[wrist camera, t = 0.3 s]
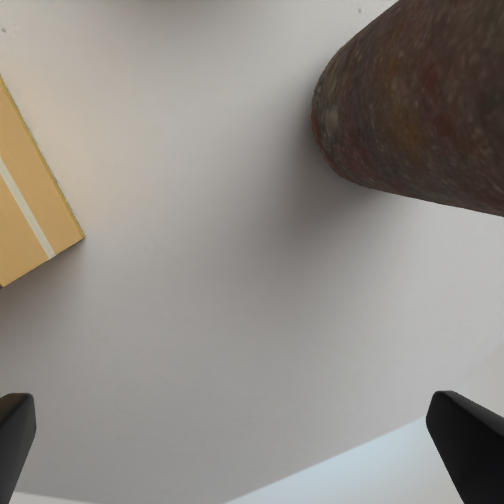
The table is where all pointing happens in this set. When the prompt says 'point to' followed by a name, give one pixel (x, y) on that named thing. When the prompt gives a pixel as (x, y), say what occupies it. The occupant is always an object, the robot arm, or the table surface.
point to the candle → (420, 104)
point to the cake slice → (28, 200)
